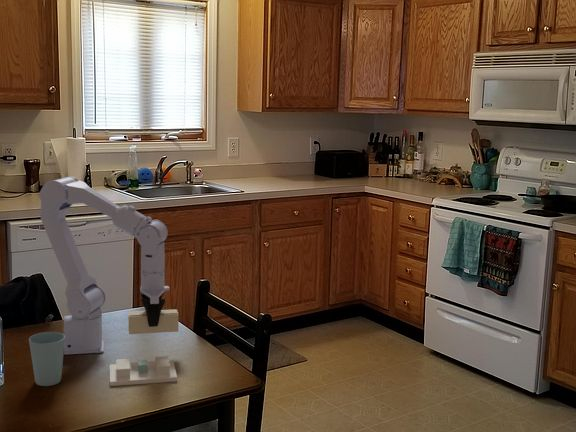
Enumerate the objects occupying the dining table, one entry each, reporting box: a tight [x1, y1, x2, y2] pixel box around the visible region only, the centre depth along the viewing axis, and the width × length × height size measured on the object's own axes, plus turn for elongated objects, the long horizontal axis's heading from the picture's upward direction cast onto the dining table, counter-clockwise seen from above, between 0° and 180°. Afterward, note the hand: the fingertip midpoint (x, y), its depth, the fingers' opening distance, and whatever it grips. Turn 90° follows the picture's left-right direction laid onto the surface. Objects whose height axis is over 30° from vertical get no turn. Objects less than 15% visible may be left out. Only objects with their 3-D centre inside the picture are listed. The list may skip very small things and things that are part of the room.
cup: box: [28, 331, 65, 387], centre depth 155 cm, size 8×8×10 cm
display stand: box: [109, 355, 178, 387], centre depth 161 cm, size 15×10×3 cm, turn 104°
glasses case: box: [127, 309, 179, 335], centre depth 172 cm, size 12×4×5 cm, turn 105°
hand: (152, 323), depth 172 cm, fingers closed on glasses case, 4 cm apart
